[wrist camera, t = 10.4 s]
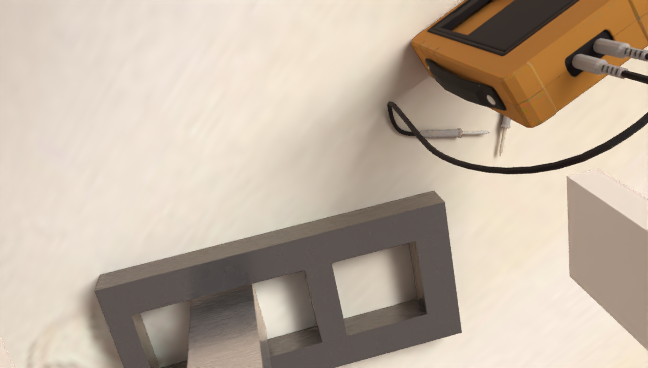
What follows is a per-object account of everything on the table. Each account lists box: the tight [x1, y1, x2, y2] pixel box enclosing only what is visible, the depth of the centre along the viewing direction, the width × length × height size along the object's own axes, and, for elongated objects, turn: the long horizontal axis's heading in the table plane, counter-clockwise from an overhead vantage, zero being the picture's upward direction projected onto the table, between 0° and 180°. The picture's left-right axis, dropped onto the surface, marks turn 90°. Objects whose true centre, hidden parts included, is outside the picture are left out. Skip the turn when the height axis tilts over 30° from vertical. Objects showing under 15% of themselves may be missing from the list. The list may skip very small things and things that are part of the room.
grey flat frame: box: [95, 191, 462, 368], centre depth 41 cm, size 10×22×2 cm, turn 101°
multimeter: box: [387, 0, 648, 174], centre depth 29 cm, size 15×10×20 cm
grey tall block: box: [187, 283, 272, 368], centre depth 36 cm, size 4×4×10 cm
